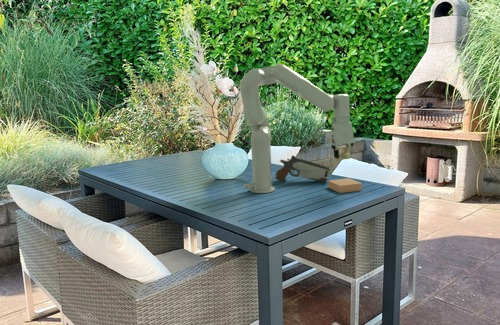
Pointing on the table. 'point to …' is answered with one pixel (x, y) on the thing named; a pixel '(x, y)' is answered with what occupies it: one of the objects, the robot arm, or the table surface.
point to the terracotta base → (344, 185)
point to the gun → (303, 170)
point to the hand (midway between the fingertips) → (342, 156)
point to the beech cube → (343, 152)
